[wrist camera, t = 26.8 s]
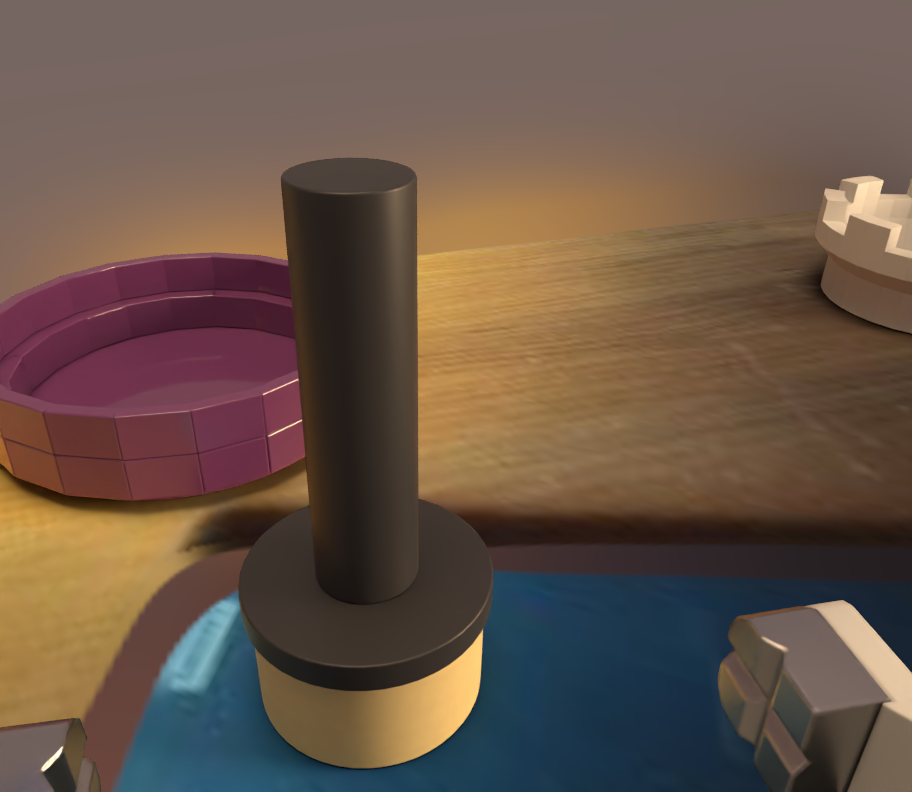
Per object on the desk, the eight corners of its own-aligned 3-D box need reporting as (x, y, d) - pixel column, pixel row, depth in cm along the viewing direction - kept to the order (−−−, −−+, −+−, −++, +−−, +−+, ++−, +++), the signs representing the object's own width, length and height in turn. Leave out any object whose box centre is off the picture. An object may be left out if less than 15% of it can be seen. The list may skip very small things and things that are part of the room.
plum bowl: (-67, 537, 27) (-106, 435, 25) (39, 338, 40) (18, 262, 38) (387, 489, 30) (384, 394, 28) (349, 318, 43) (345, 245, 41)
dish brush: (252, 797, 19) (157, 235, 12) (255, 605, 25) (190, 140, 18) (513, 753, 20) (558, 217, 14) (461, 579, 26) (474, 133, 19)
